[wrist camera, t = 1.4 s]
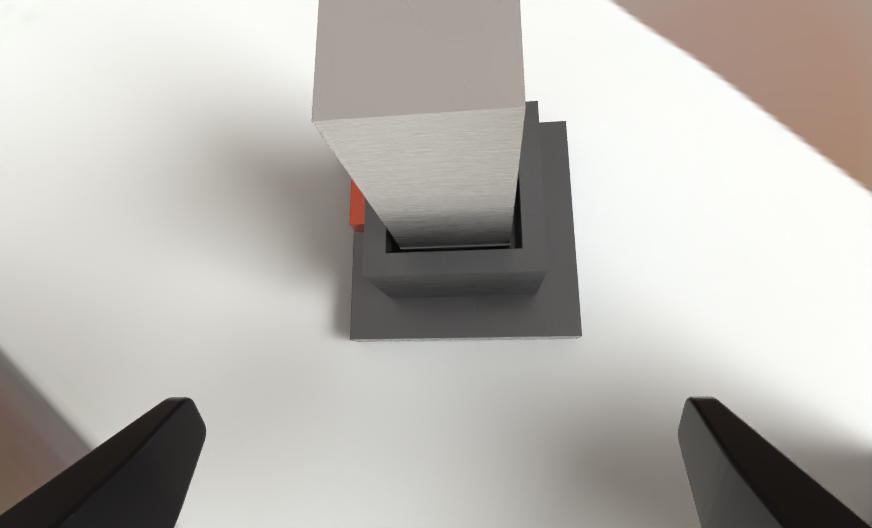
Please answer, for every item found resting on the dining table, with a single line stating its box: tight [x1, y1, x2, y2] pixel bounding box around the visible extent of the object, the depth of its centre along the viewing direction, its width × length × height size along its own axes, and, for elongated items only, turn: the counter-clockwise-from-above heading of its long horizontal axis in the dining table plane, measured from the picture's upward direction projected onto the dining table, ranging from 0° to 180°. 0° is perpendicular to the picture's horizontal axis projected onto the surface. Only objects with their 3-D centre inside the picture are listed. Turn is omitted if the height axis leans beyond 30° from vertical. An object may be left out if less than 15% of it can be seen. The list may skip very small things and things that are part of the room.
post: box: [312, 0, 526, 253], centre depth 16 cm, size 4×4×13 cm
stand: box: [350, 101, 582, 342], centre depth 20 cm, size 10×10×6 cm
